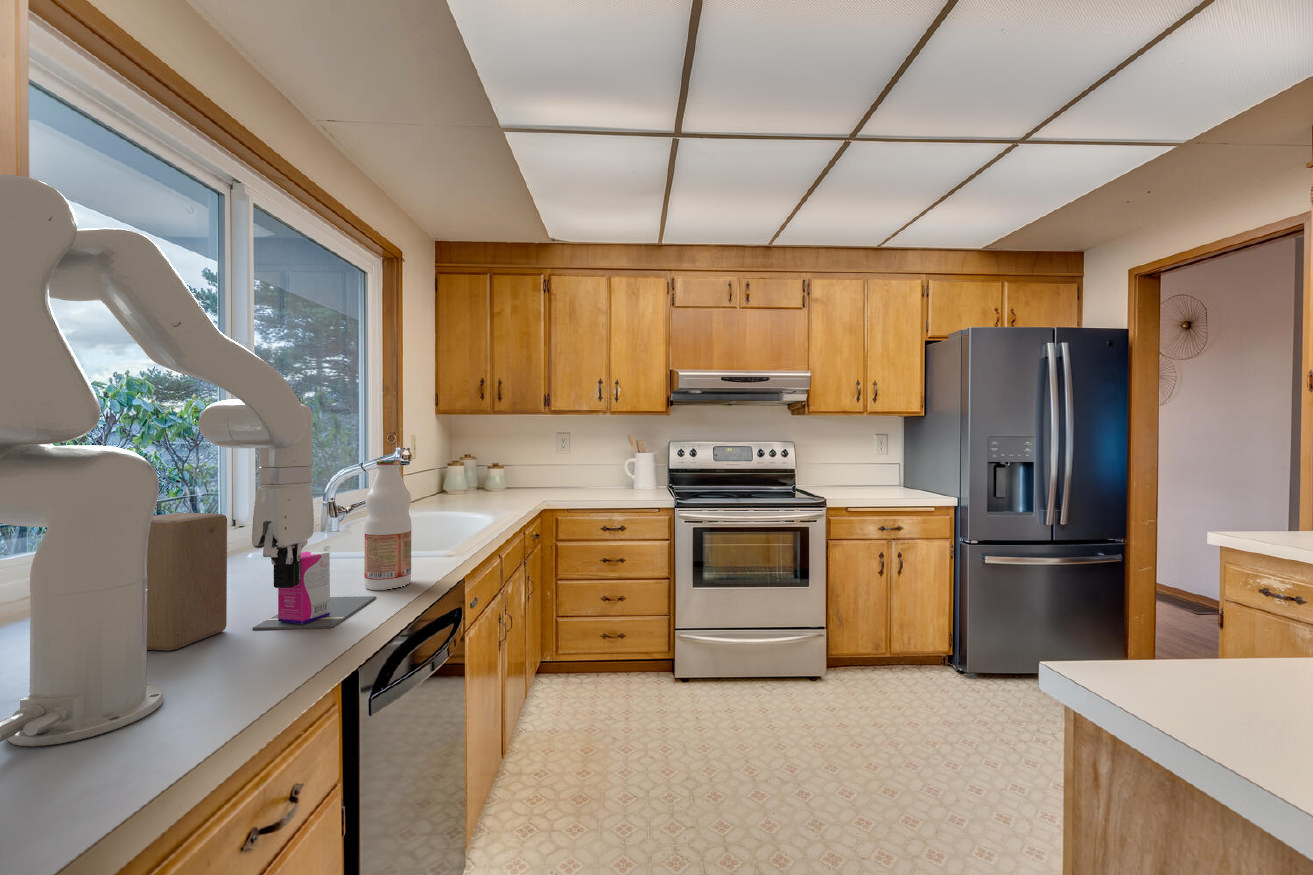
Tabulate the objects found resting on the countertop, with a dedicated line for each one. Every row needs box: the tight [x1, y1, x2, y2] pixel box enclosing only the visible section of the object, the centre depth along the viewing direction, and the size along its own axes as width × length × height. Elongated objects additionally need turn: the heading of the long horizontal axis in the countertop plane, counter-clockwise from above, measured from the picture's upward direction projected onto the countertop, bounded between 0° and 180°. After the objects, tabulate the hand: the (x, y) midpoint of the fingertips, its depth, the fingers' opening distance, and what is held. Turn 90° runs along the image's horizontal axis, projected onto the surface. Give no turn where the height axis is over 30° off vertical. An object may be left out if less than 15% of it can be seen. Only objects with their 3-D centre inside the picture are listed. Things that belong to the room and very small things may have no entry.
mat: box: [252, 595, 377, 631], centre depth 104 cm, size 18×13×1 cm
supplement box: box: [277, 551, 331, 624], centre depth 99 cm, size 6×6×12 cm
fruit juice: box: [363, 459, 413, 591], centre depth 123 cm, size 9×9×28 cm
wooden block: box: [147, 512, 228, 652], centre depth 89 cm, size 10×10×20 cm
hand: (286, 586), depth 93 cm, fingers closed
